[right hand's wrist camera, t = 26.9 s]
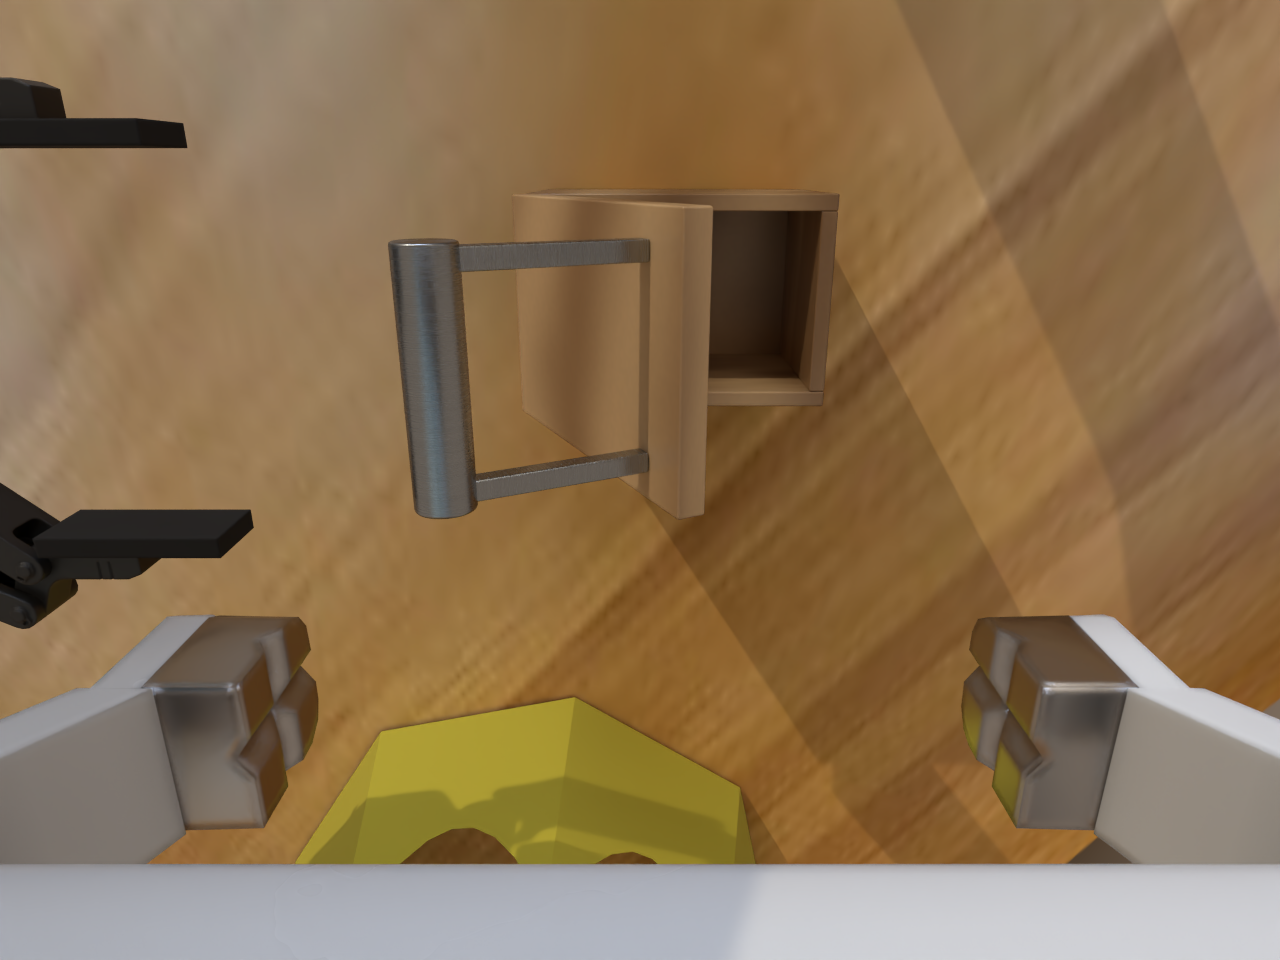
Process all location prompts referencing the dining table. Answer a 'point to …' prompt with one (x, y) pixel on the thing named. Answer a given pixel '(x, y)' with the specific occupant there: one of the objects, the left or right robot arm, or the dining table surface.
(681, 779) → the crown
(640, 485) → the lid
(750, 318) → the chest
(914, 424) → the dining table surface
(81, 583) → the dining table surface
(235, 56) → the dining table surface
